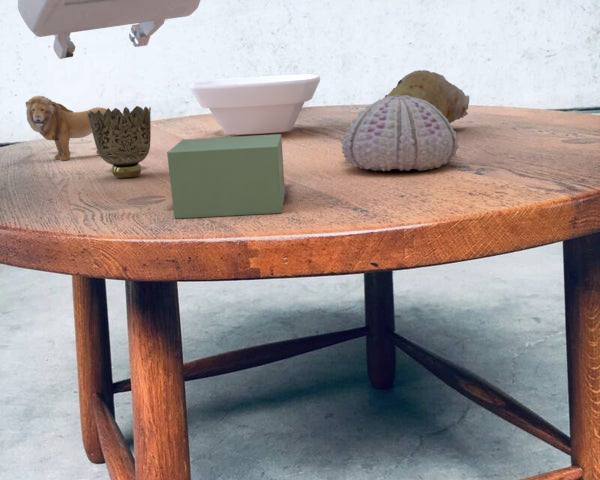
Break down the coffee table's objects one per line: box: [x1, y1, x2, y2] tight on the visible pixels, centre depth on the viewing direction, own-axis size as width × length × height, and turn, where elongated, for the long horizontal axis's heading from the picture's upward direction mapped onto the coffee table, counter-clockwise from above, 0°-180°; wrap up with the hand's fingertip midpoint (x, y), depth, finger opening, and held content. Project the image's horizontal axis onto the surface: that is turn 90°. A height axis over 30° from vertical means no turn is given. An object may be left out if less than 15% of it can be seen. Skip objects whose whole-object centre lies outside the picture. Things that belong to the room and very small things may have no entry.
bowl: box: [189, 73, 321, 136], centre depth 144 cm, size 21×21×9 cm
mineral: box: [378, 69, 470, 124], centre depth 129 cm, size 26×9×10 cm
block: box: [166, 133, 286, 219], centre depth 87 cm, size 10×10×6 cm
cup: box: [87, 105, 152, 179], centre depth 109 cm, size 8×7×8 cm
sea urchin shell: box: [340, 95, 460, 172], centre depth 103 cm, size 13×14×8 cm
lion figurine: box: [25, 95, 108, 161], centre depth 130 cm, size 15×5×9 cm, turn 117°
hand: (101, 47), depth 100 cm, fingers open, 8 cm apart
